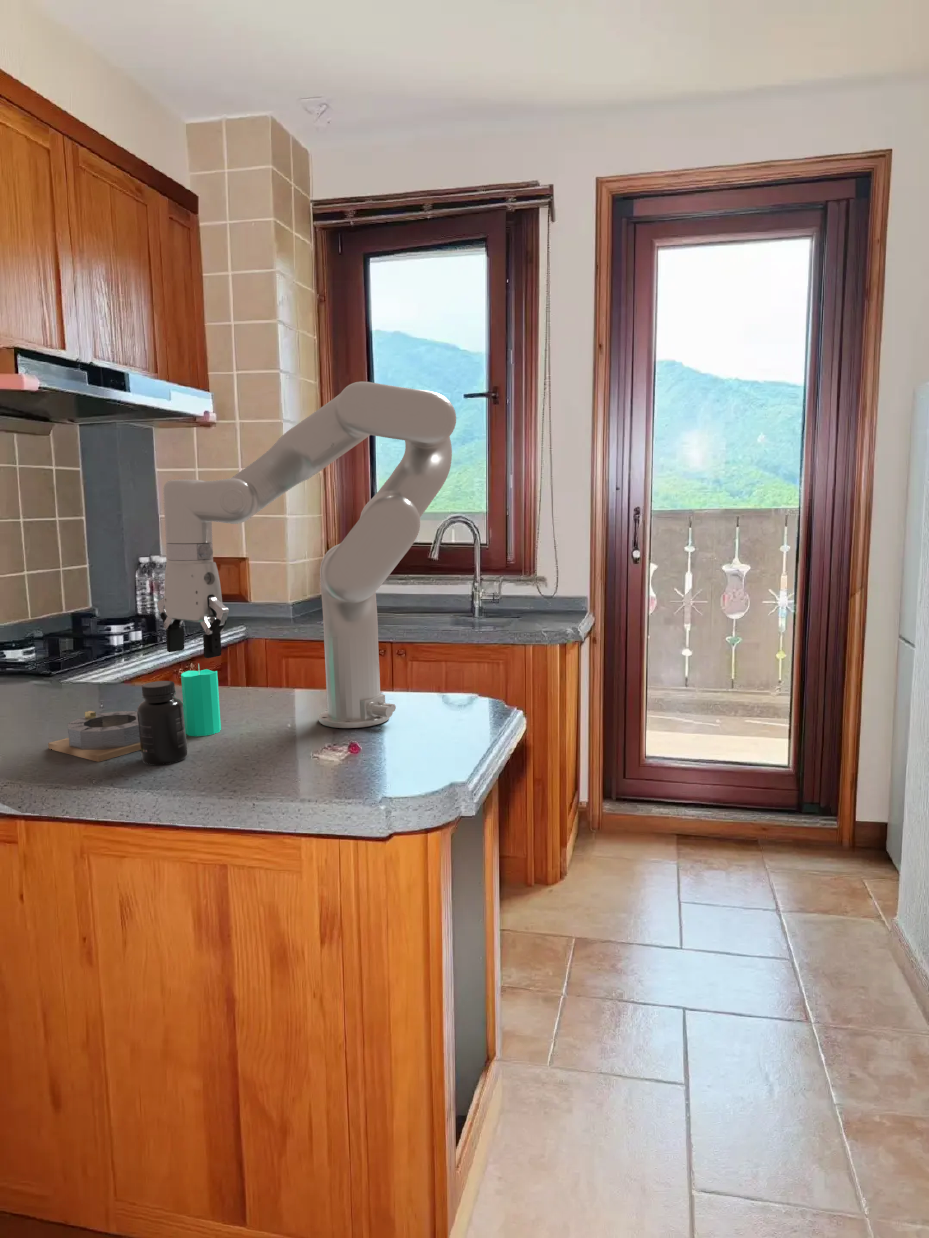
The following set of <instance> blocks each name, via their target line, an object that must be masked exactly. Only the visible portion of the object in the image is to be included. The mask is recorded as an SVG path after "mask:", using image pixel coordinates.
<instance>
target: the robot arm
mask: <svg viewBox="0 0 929 1238" xmlns="http://www.w3.org/2000/svg"><path fill="white" fill-rule="evenodd" d="M456 414H457V413H456V410H455V408H454V405H453V404H452V403H451V401H450V400H449V399H448V398H447V397H446V396H444V395H442V394H441V393H438V392H434V391H430V390H424V389H417V388H409V387H404V386H403V387H402V386H395V385H389V384H384V383H377V382H371V381H356V382H352V383H350V384H348V385H347V386H346V387H344V388H343V390H341V392H340V393H339V394H338V395H337V396H335V397H333V398H332V399H331V400H329V402H327V403H326V404H324V405H322V406H321V407H319V408H318V409H317V410H315V411H314V412H313V413H311V414H310V415H308V416H307V417H305V418H304V419H303V420H301V421H299V423H297V424H295V425H294V426H293V427H291V428H289V430H287V431H286V432H285V433H284V434H283V435H281V436H280V437H279V438H278V440H276V441H275V443H274V444H273V445H272V446H271V447H270V448H269V449H268V450H267V451H265V453H263V454H262V455H261V456H260V457H258V458H257V459H255V460H254V461H253V462H251V463H250V464H249V465H248V466H246V467H245V468H243V469H242V470H241V471H239V472H238V473H236V474H235V475H233V476H232V477H231V478H225V479H224V478H223V479H217V480H216V479H215V480H203V479H169V480H167V481H166V482H165V483H164V485H163V494H162V495H163V506H164V507H163V510H164V512H163V513H164V531H165V532H164V533H165V535H164V536H165V550H166V551H165V556H166V558H165V559H166V564H165V571H164V588H163V589H164V593H163V595H164V597H162V599H160V600H158V602H157V607H158V610H159V613H160V619H161V620H162V622H163V629H165V632H166V633H165V635H166V636H165V637H166V651H167V653H175V652H180V651H184V650H185V632H184V631H185V630H184V627H183V626H182V624H183V622H190V623H200V625H201V627H202V629H203V630H204V632H205V633H204V634H203V635H202V640H203V642H202V644H203V656H204V659H211V658H216V657H217V658H218V657H220V656H222V637H221V636H222V633H223V632H224V627H225V626H226V624H227V619H228V615H229V613H230V610H229V607H227V606H226V605H224V603H223V597H222V596H223V595H222V588H221V587H222V586H221V581H220V574H219V570H218V566H217V563H216V561H214V551H213V550H214V549H213V523H212V522H215V523H224V524H231V525H232V524H233V525H236V524H242V523H245V522H247V521H248V520H249V519H251V518H252V517H253V516H255V515H256V514H258V513H259V512H260V511H262V510H263V509H264V508H266V507H267V506H268V505H271V503H273V502H274V501H276V500H277V499H278V498H280V497H281V496H283V495H284V494H285V493H287V492H288V491H289V490H291V489H292V488H294V487H295V486H296V487H297V485H299V484H301V483H303V482H306V481H308V480H309V479H311V478H312V477H314V476H315V475H317V474H318V473H320V472H321V471H323V470H325V469H326V467H328V466H329V465H331V464H332V463H334V462H335V461H336V460H338V459H339V458H340V457H342V456H343V455H345V454H346V453H347V452H349V451H350V450H351V449H354V447H356V446H357V445H359V444H360V443H361V442H363V441H364V440H365V439H367V438H368V437H370V436H375V437H381V438H387V439H392V440H400V441H404V444H405V449H404V453H403V456H402V458H401V460H400V461H399V463H398V464H397V466H396V467H395V468H394V470H393V472H392V473H391V474H390V476H389V477H388V479H386V481H385V482H384V483H383V485H382V486H381V487H380V488H379V489H378V491H377V492H376V493H375V494H374V495H373V497H372V498H371V499H370V500H368V502H367V503H366V504H365V505H364V507H363V508H362V510H361V512H360V517H359V519H358V520H357V522H356V523H355V524H354V525H353V526H352V528H351V529H350V530H349V532H348V533H347V535H346V536H345V537H344V538H343V540H342V541H341V542H340V543H339V544H336V545H334V546H332V547H331V548H329V549H328V550H327V551H326V553H325V554H324V555H323V557H322V560H321V562H320V567H319V580H320V581H319V582H320V594H321V605H322V619H323V620H322V621H323V622H322V623H323V625H322V626H323V644H324V662H325V663H324V664H325V665H324V666H325V684H326V685H325V687H326V688H325V689H326V705H327V709H326V710H324V711H322V712H320V713H319V714H318V722H319V723H320V724H322V726H325V727H330V728H337V729H338V728H339V729H357V728H358V729H359V728H368V727H373V726H376V725H380V724H383V723H385V722H387V721H388V720H389V719H390V718H391V717H392V716H393V714H394V713H393V712H395V711H396V707H397V706H396V705H395V704H394V703H390V702H389V703H388V702H387V703H386V695H385V694H382V693H381V680H380V677H381V675H380V657H379V656H380V655H379V654H380V653H379V652H380V651H379V626H378V625H379V623H378V621H379V619H378V608H377V593H376V592H377V590H378V589H380V587H381V586H382V584H383V583H384V582H385V581H386V580H387V579H388V578H389V576H390V575H391V573H392V572H393V571H394V569H395V568H396V567H397V566H398V564H399V563H400V561H401V560H402V559H403V558H404V557H405V555H406V554H407V553H408V552H409V550H410V549H411V548H412V546H413V545H414V543H415V541H416V539H417V538H418V535H419V533H420V529H421V517H422V516H423V514H424V513H425V512H426V510H427V509H428V508H429V507H430V505H431V503H432V502H433V500H434V499H435V497H436V496H437V495H438V493H439V491H441V489H442V488H443V486H444V484H445V482H446V480H447V479H448V477H449V474H450V470H451V466H452V460H453V459H452V457H453V449H452V441H451V437H450V436H451V435H452V434H453V433H454V430H455V427H456V423H457V415H456ZM210 623H211V624H210Z"/></svg>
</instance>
